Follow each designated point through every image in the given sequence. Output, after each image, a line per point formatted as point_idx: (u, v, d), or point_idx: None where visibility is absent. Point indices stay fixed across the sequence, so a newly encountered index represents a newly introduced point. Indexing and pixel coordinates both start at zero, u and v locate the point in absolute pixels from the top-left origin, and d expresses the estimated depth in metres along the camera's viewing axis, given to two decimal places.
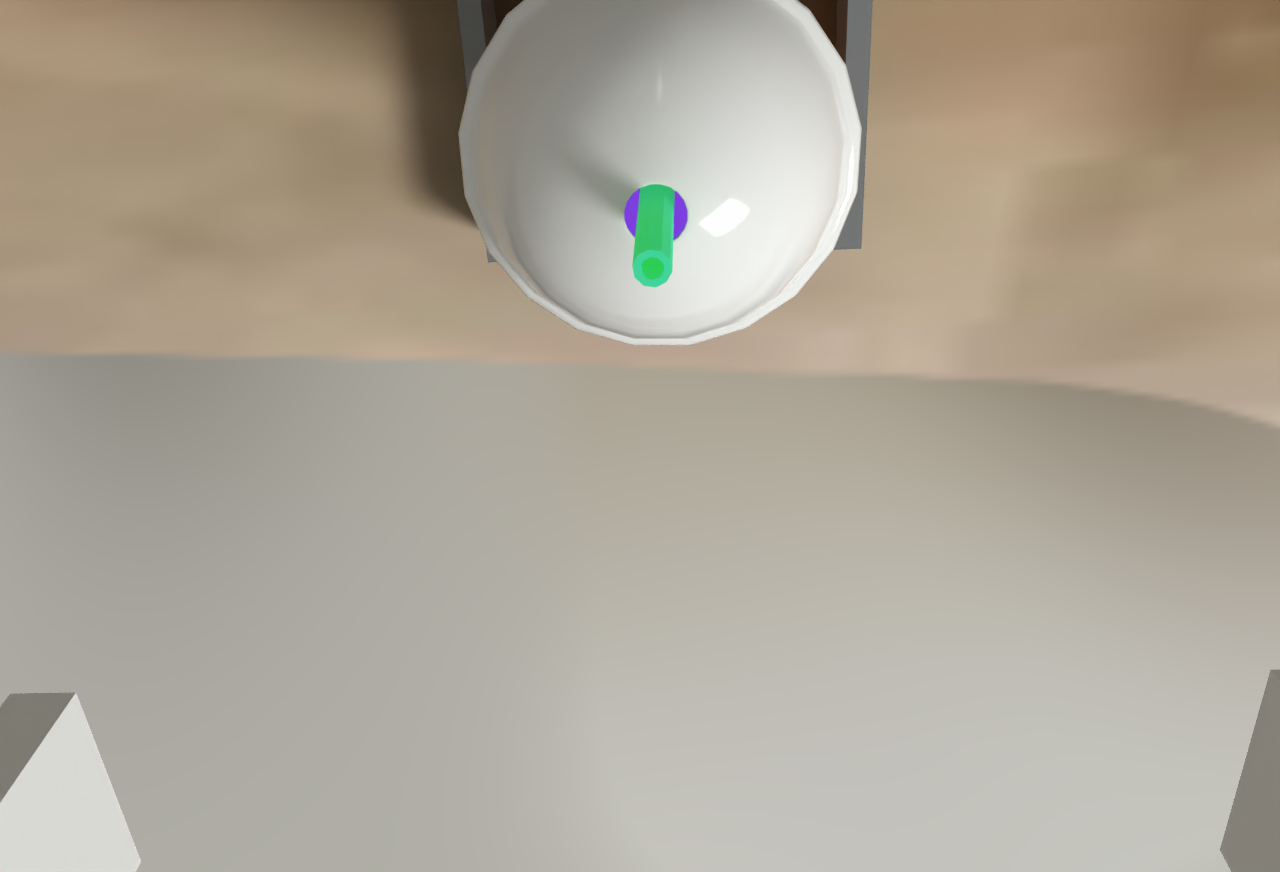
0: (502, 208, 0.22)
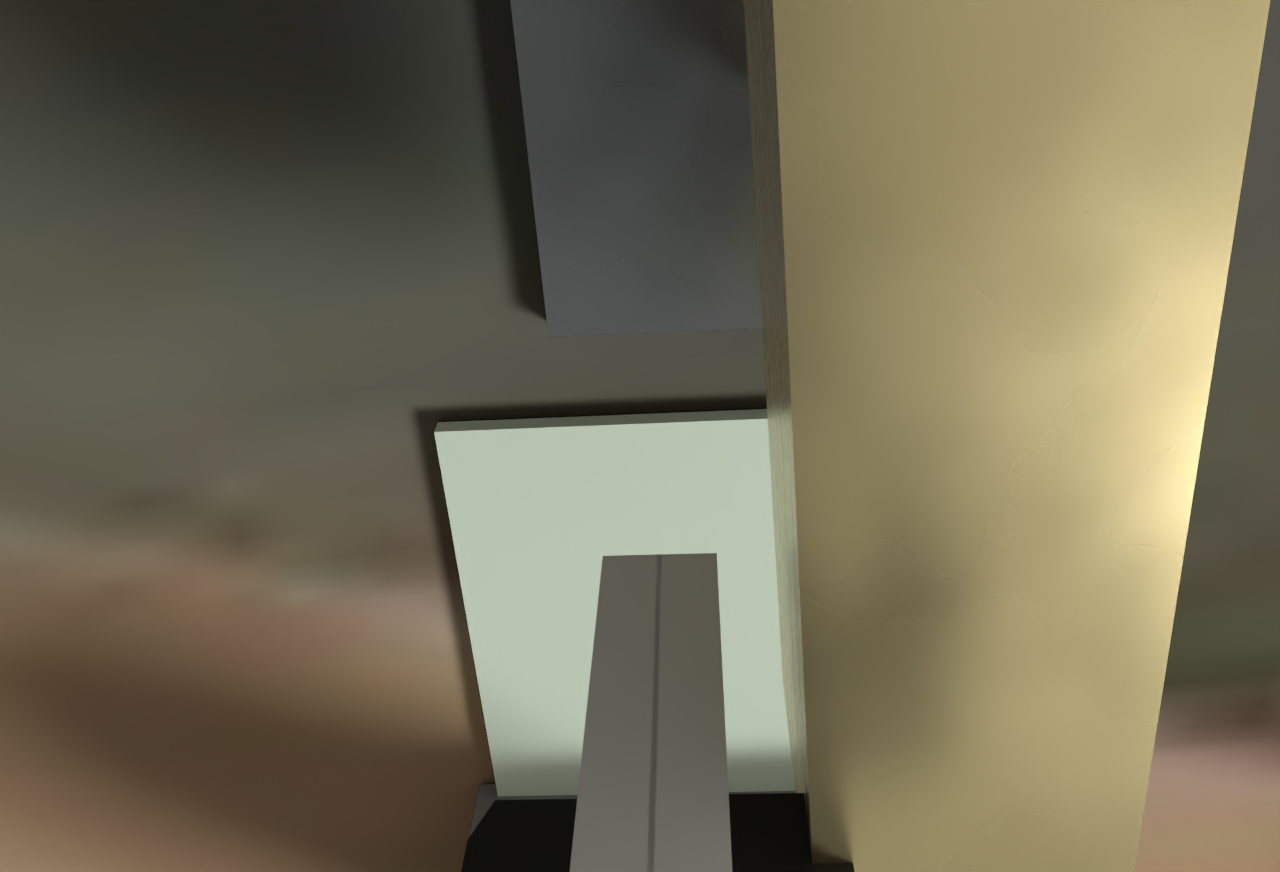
0: None
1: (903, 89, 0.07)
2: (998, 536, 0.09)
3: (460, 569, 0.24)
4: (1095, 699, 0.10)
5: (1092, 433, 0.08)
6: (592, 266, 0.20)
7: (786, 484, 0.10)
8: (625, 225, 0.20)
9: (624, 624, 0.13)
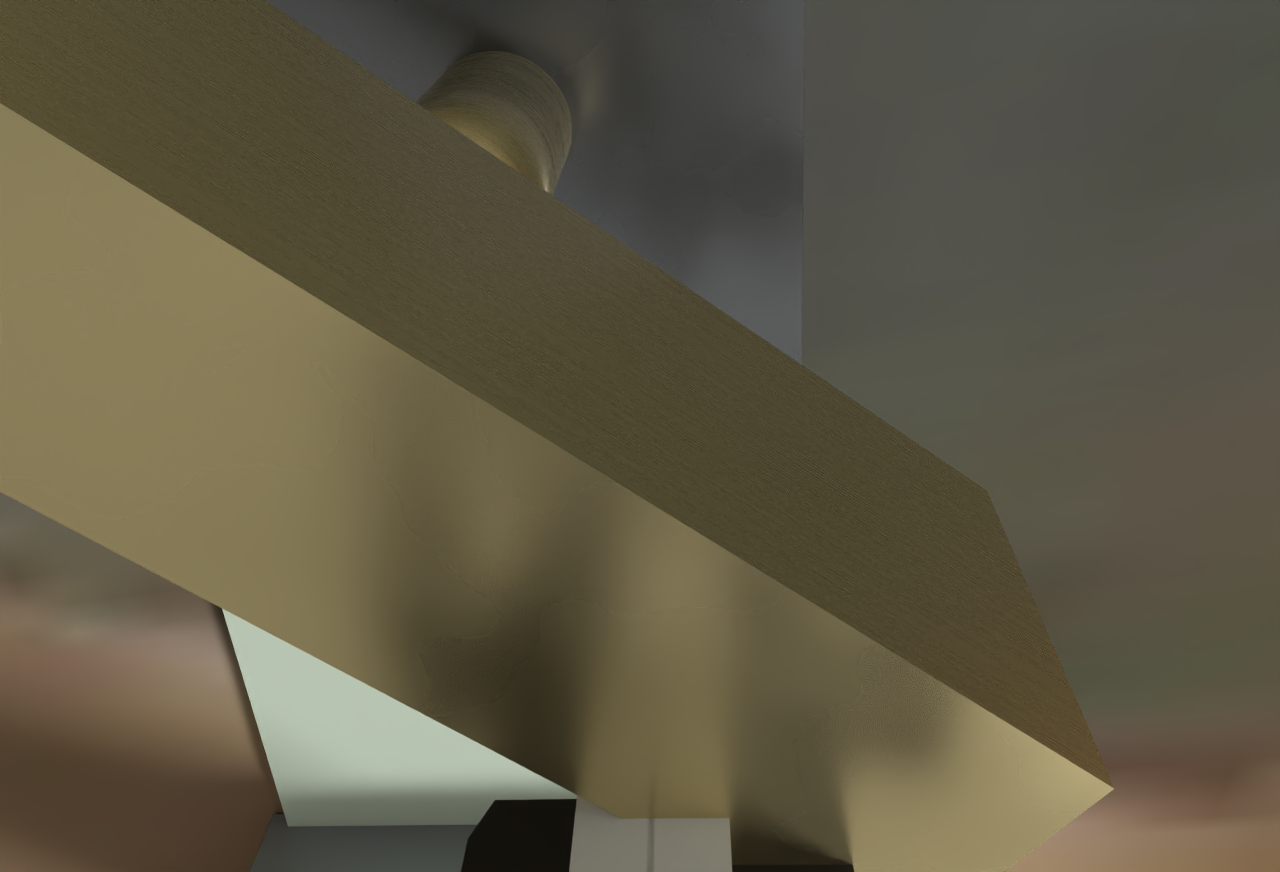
0: None
1: (38, 421, 0.09)
2: (478, 579, 0.09)
3: (224, 611, 0.25)
4: (716, 612, 0.09)
5: (424, 472, 0.09)
6: None
7: None
8: None
9: None
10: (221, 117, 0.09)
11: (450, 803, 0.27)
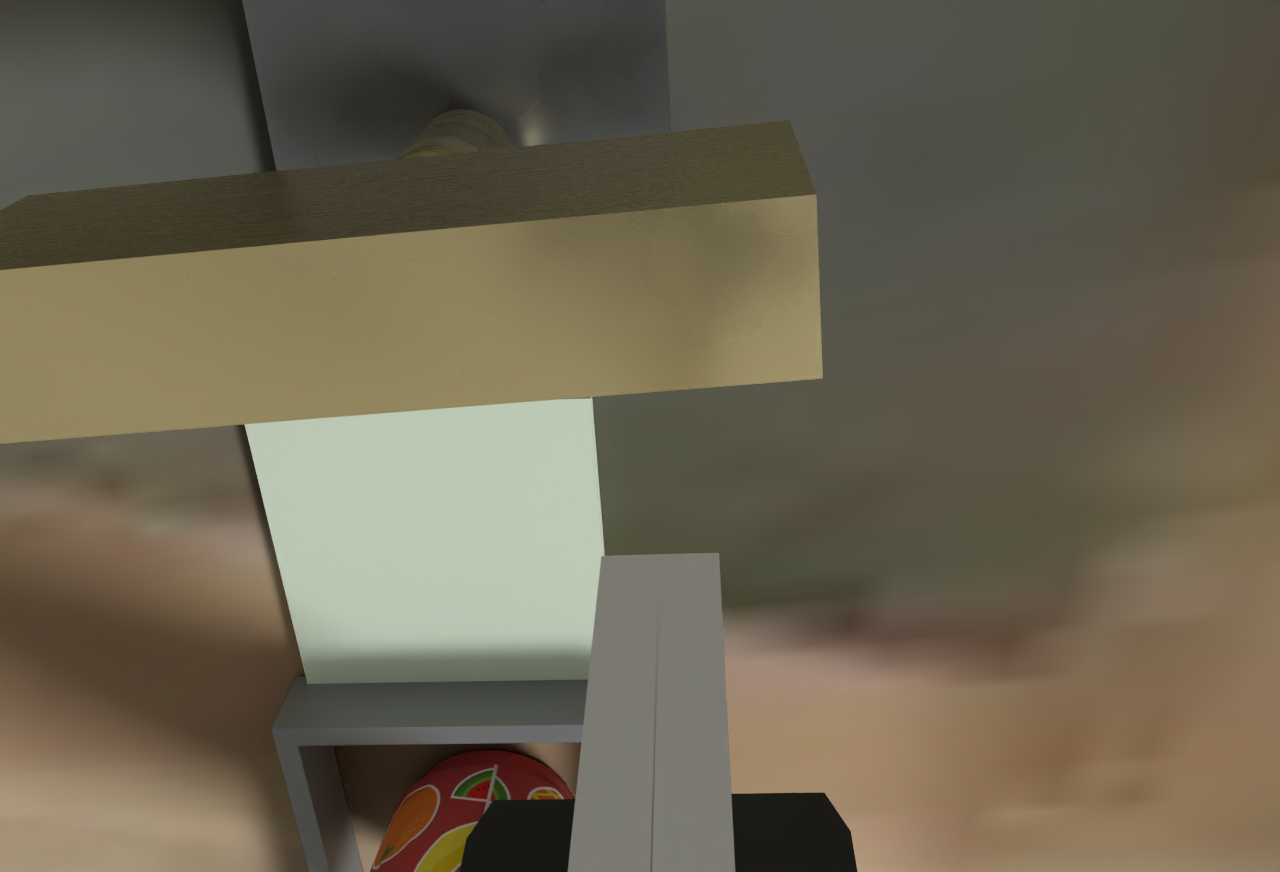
0: None
1: (250, 379, 0.18)
2: (451, 317, 0.18)
3: (266, 508, 0.34)
4: (553, 253, 0.17)
5: (389, 285, 0.18)
6: None
7: None
8: None
9: (622, 624, 0.13)
10: (241, 217, 0.19)
11: (430, 664, 0.36)
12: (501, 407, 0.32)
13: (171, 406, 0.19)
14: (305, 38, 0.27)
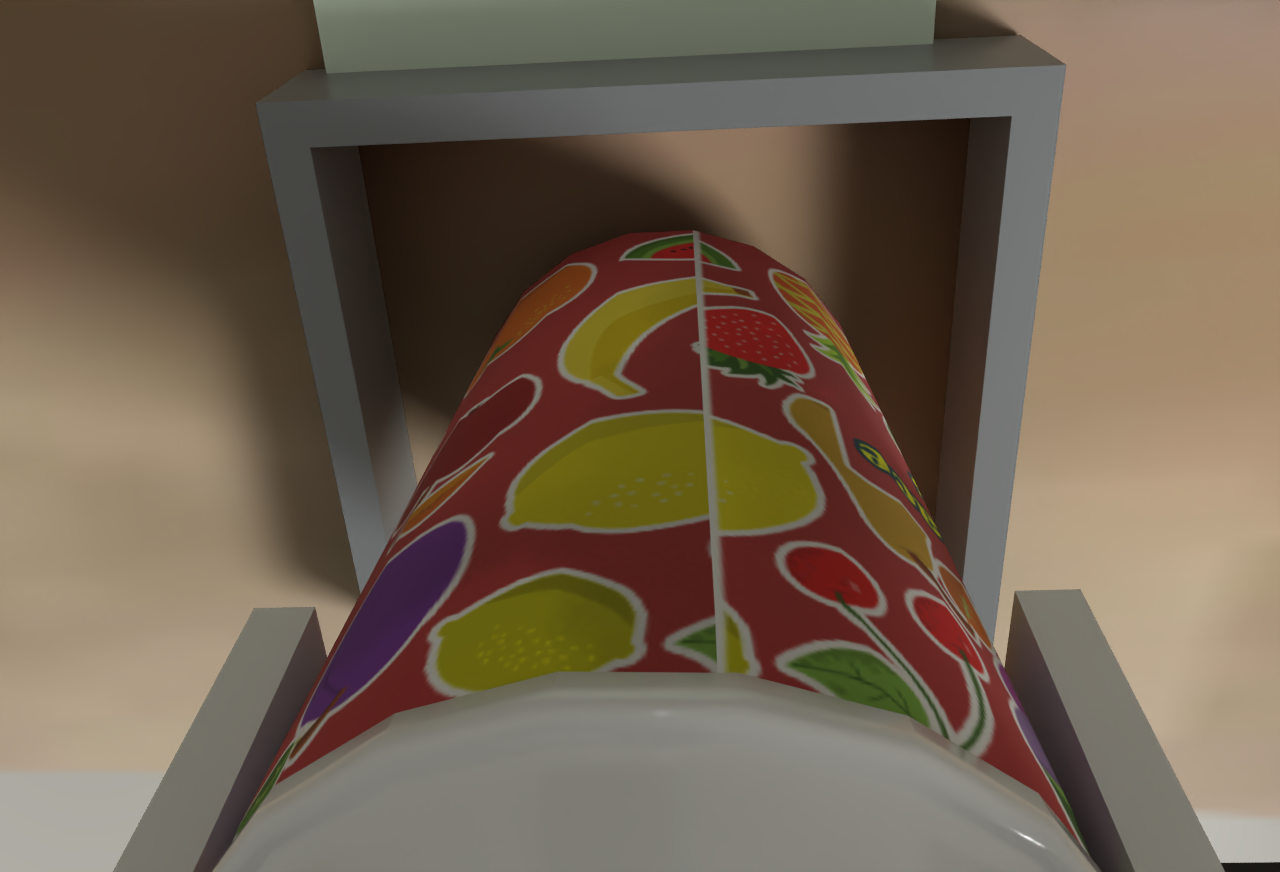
0: None
1: None
2: None
3: None
4: None
5: None
6: None
7: None
8: None
9: (241, 685, 0.12)
10: None
11: (572, 14, 0.18)
12: None
13: None
14: None
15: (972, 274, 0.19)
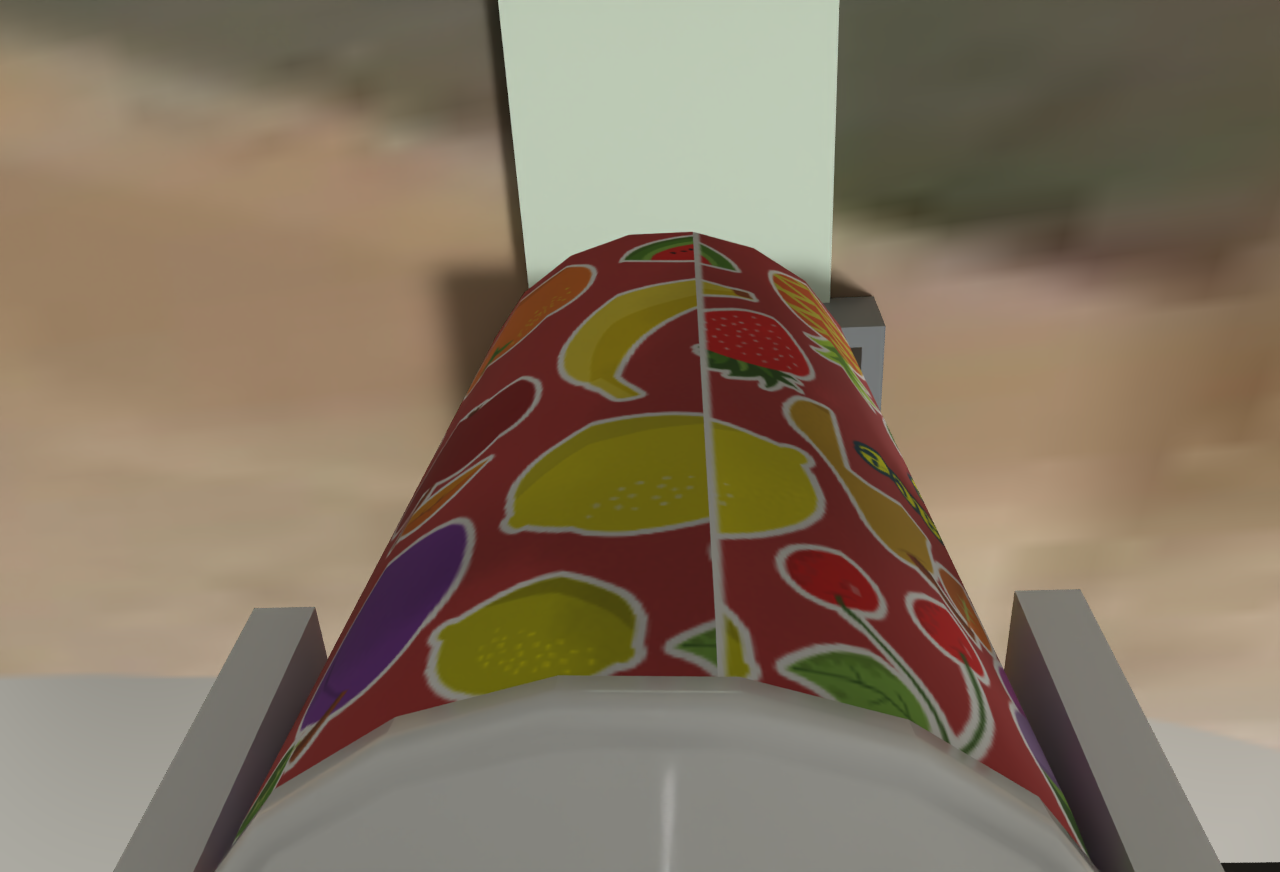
0: None
1: None
2: None
3: (511, 112, 0.35)
4: None
5: None
6: None
7: None
8: None
9: (242, 684, 0.12)
10: None
11: None
12: None
13: None
14: None
15: None
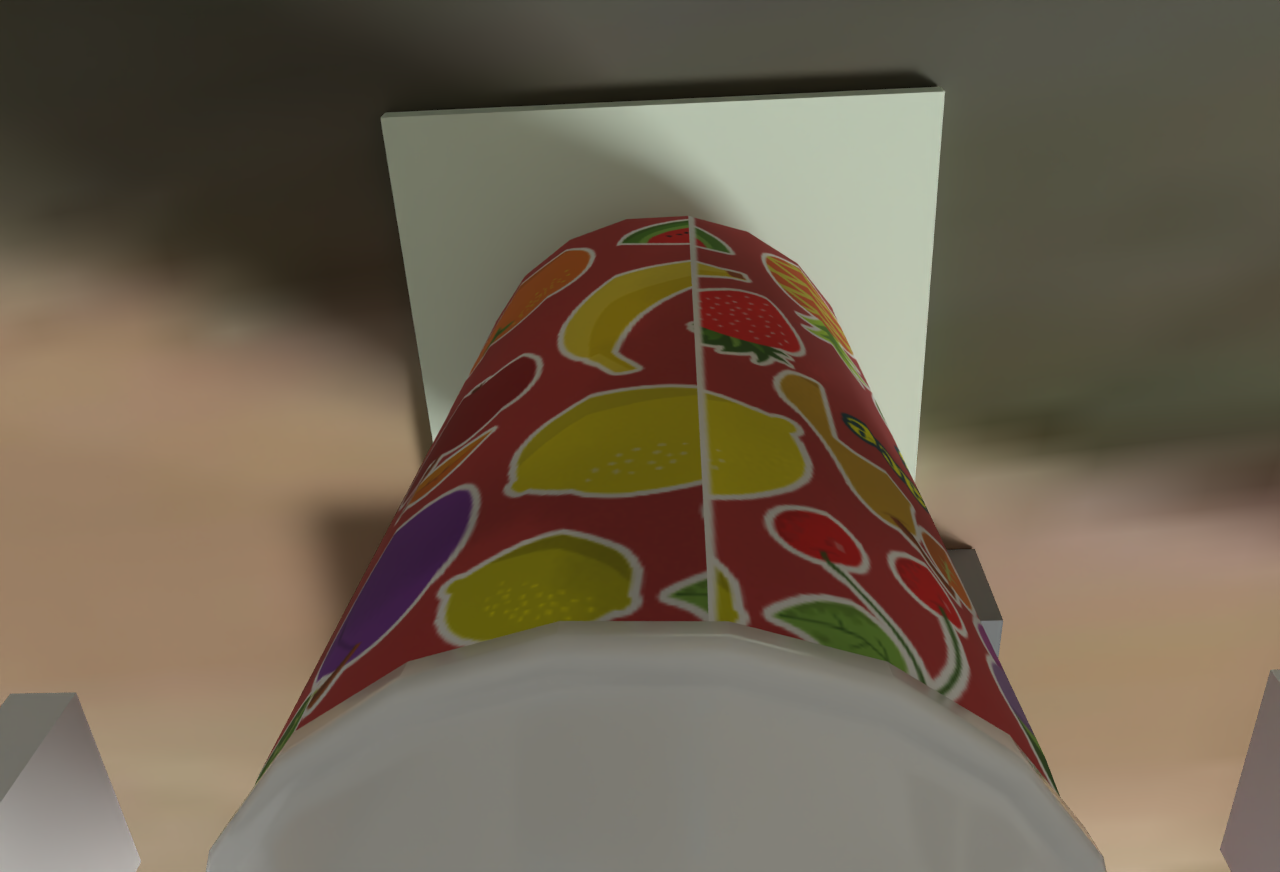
0: None
1: None
2: None
3: (410, 290, 0.22)
4: None
5: None
6: None
7: None
8: None
9: None
10: None
11: None
12: (797, 109, 0.20)
13: None
14: None
15: None
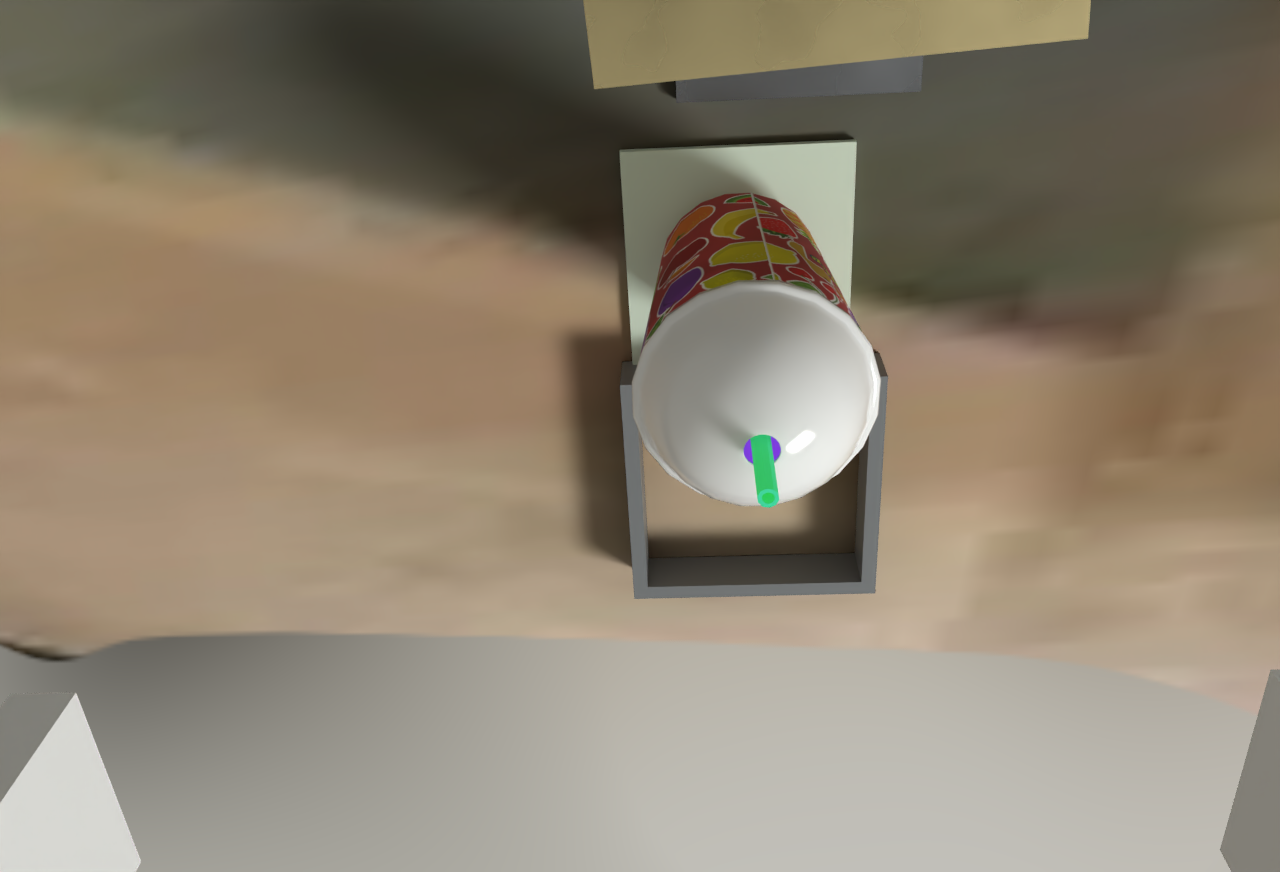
0: (664, 436, 0.37)
1: (777, 42, 0.34)
2: (894, 4, 0.34)
3: (625, 227, 0.49)
4: None
5: None
6: None
7: None
8: None
9: None
10: None
11: None
12: (795, 148, 0.48)
13: (730, 60, 0.35)
14: None
15: None
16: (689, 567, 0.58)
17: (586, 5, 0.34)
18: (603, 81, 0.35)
